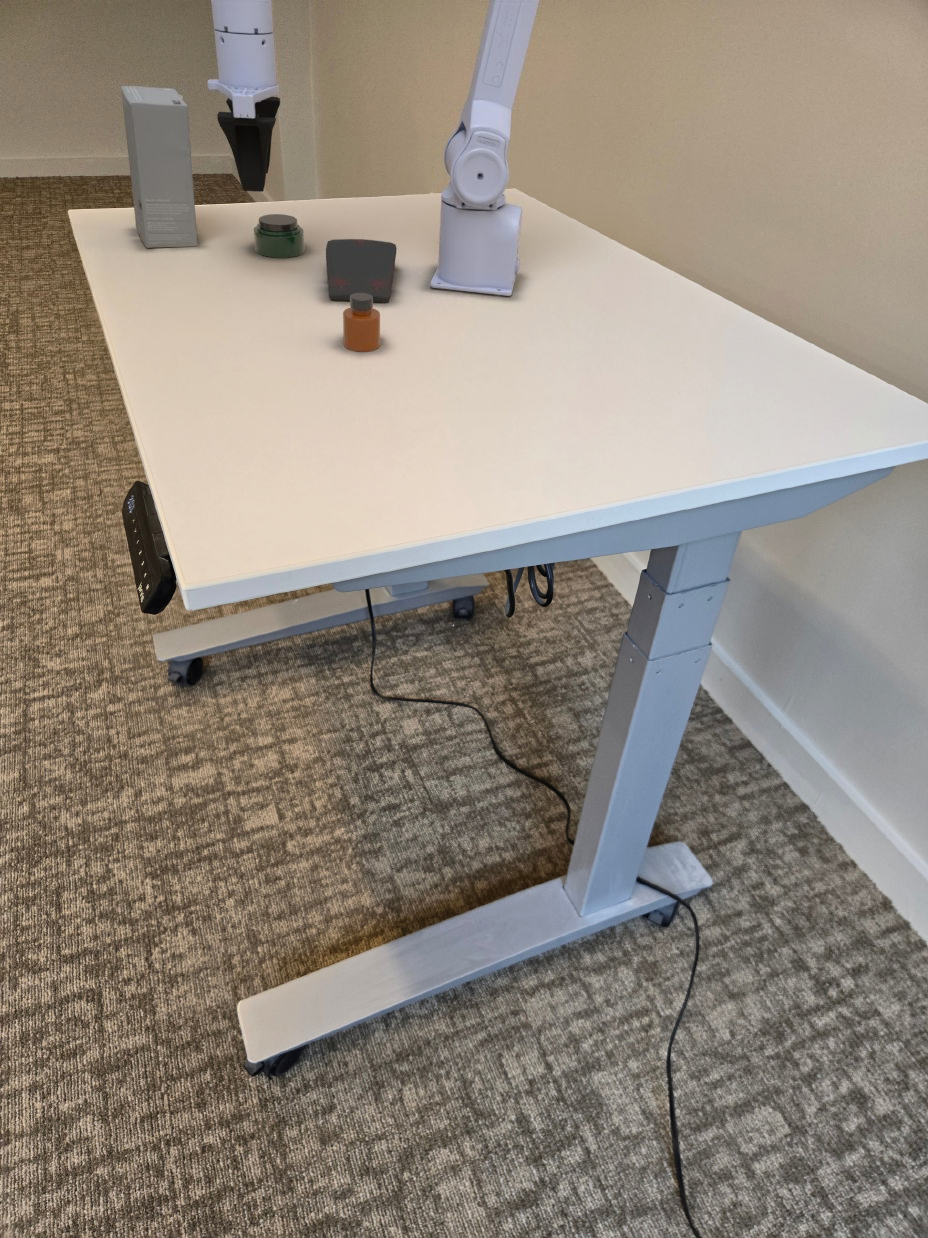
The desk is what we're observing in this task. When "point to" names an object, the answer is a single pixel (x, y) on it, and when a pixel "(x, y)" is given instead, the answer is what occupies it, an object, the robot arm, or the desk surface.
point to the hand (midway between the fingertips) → (256, 181)
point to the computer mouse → (360, 268)
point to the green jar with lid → (278, 236)
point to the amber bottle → (361, 324)
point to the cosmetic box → (160, 166)
